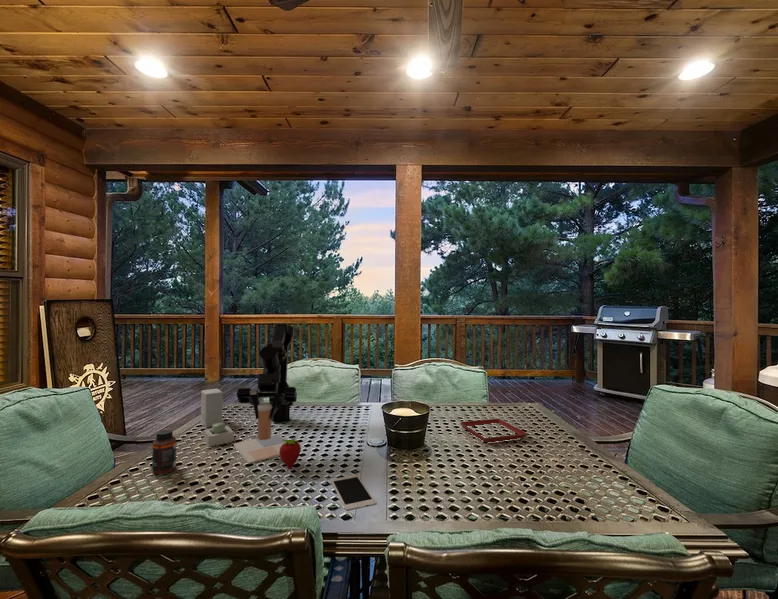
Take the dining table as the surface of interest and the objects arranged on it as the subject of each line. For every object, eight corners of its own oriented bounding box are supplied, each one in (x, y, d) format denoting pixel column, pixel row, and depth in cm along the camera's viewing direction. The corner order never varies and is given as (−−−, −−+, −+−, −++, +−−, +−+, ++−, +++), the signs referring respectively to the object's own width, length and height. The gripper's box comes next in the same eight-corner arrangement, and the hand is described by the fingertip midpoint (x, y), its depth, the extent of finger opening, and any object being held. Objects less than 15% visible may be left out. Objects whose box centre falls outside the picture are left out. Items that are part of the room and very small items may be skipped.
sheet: (278, 435, 136) (278, 433, 136) (298, 451, 122) (298, 449, 122) (232, 445, 126) (232, 443, 126) (248, 464, 112) (248, 462, 112)
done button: (223, 431, 133) (223, 421, 133) (226, 435, 130) (226, 425, 130) (210, 434, 131) (211, 424, 131) (213, 437, 127) (213, 427, 127)
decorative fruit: (275, 473, 106) (275, 438, 106) (285, 462, 114) (285, 429, 114) (294, 475, 105) (295, 440, 106) (304, 463, 113) (304, 430, 113)
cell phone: (345, 512, 88) (345, 509, 88) (330, 481, 103) (330, 479, 103) (376, 505, 91) (376, 503, 91) (357, 476, 106) (357, 474, 106)
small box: (222, 424, 147) (223, 391, 147) (205, 428, 143) (205, 394, 143) (217, 419, 153) (217, 388, 153) (200, 422, 149) (200, 390, 149)
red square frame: (498, 426, 150) (498, 417, 150) (528, 442, 133) (528, 433, 133) (459, 430, 145) (459, 422, 145) (484, 448, 127) (484, 438, 127)
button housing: (227, 435, 136) (227, 425, 136) (233, 441, 129) (233, 431, 129) (203, 439, 131) (203, 429, 131) (208, 447, 125) (208, 436, 125)
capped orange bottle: (265, 434, 122) (265, 402, 122) (273, 436, 120) (274, 404, 120) (254, 438, 118) (254, 405, 118) (263, 441, 116) (263, 407, 116)
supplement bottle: (180, 467, 109) (181, 429, 109) (162, 476, 104) (163, 436, 104) (165, 464, 111) (166, 427, 111) (147, 473, 106) (147, 433, 106)
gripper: (238, 363, 122) (227, 406, 111) (296, 362, 124) (291, 405, 113) (244, 382, 130) (234, 424, 119) (298, 381, 132) (294, 422, 121)
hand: (263, 418), depth 118 cm, fingers closed on capped orange bottle, 4 cm apart
